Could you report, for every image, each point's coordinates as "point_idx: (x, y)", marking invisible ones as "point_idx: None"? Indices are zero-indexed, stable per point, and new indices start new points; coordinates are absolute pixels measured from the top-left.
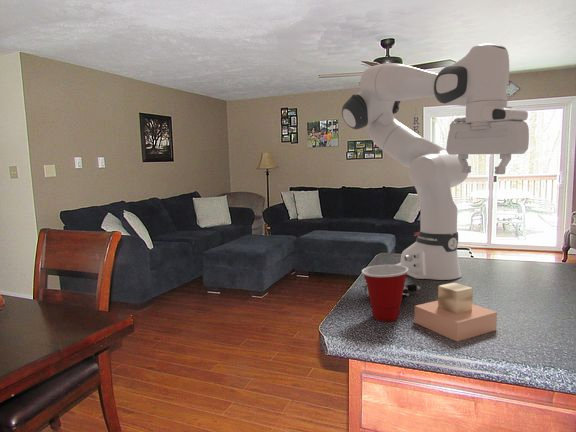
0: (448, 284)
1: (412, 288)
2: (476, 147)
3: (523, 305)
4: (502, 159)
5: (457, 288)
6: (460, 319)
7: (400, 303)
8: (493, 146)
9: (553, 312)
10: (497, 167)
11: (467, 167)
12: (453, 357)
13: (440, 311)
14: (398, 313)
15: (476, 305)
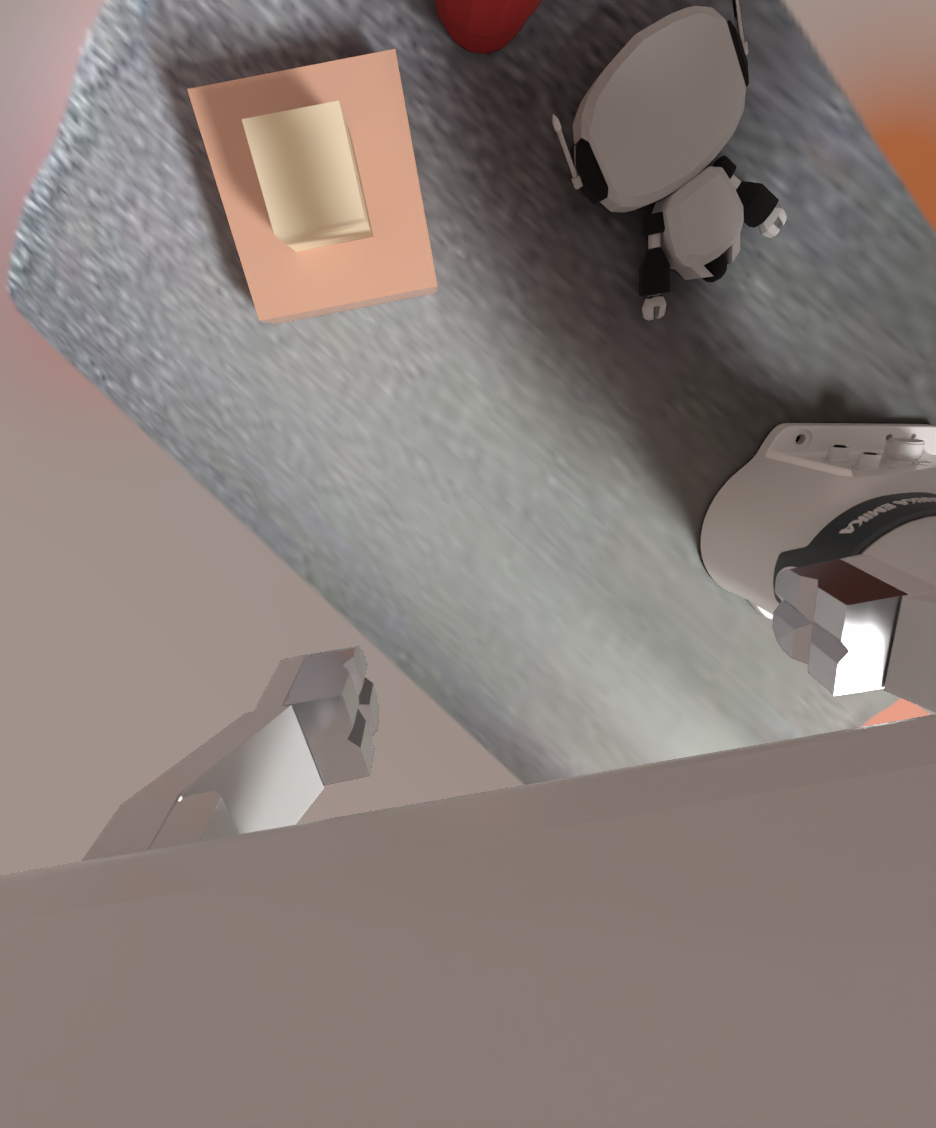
0: (344, 165)
1: (642, 270)
2: (858, 893)
3: (423, 549)
4: (168, 792)
5: (281, 159)
6: (217, 129)
7: (441, 3)
8: (176, 1023)
9: (354, 577)
10: (302, 692)
11: (827, 617)
12: (102, 4)
13: None
14: (446, 24)
15: (334, 305)
